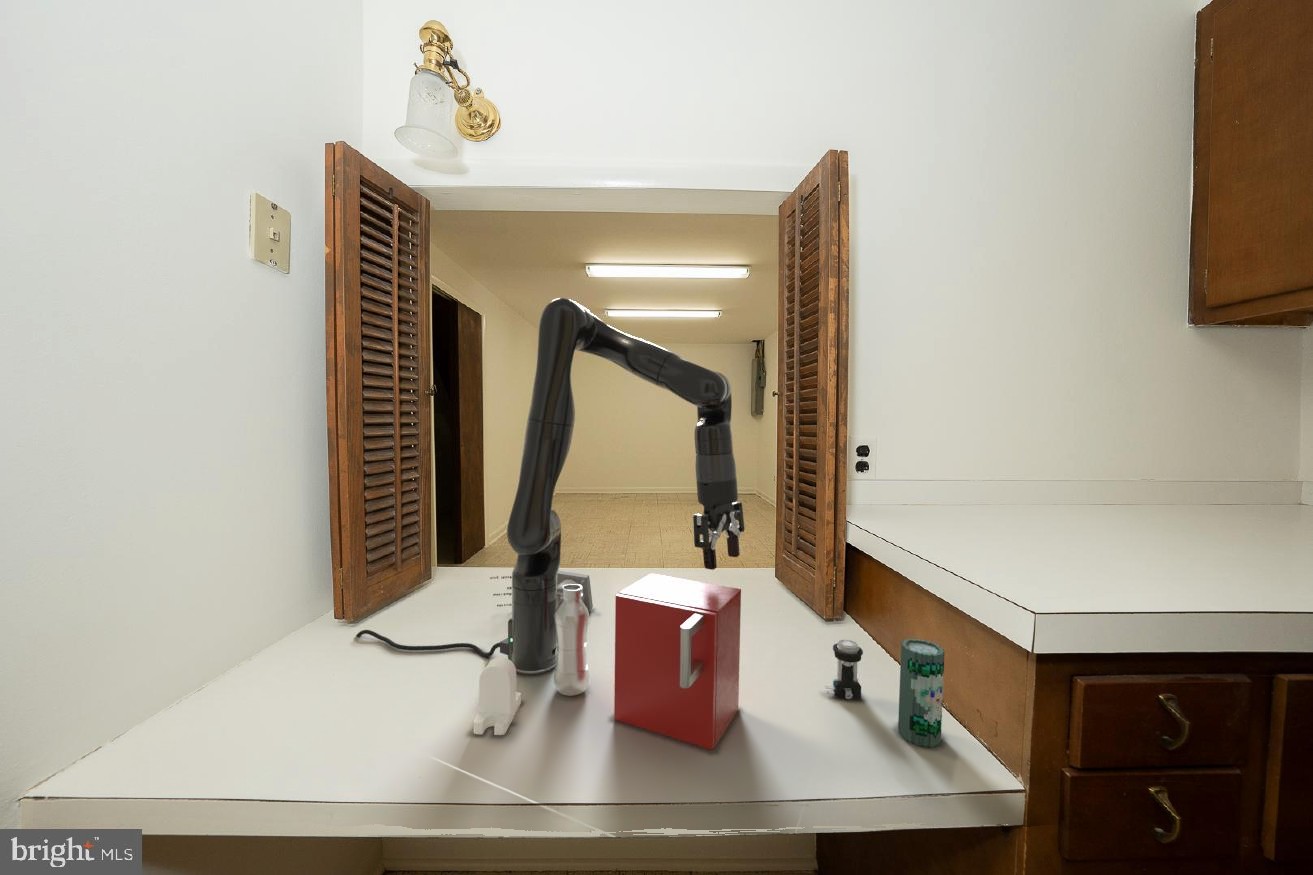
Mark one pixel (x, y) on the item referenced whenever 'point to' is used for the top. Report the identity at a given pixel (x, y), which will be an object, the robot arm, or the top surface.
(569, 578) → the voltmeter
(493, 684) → the cable organizer
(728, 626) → the red upright rectangular box
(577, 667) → the plastic bottle
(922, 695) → the can
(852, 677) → the push button
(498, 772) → the top surface
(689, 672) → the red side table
